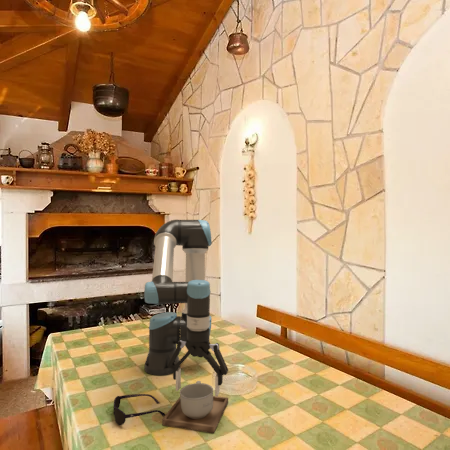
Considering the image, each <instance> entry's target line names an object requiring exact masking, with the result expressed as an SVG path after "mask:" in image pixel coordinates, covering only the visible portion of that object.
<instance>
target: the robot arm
mask: <svg viewBox="0 0 450 450" xmlns="http://www.w3.org/2000/svg"><path fill="white" fill-rule="evenodd" d="M212 244H213V243H212V233H211V227H210V223H209V221H207V220H204V219H171V220H169V221H167V222H165V223H164V224H162V225H161V226H160V227H159V228H158V230H157V231H156V232H155V235H154V239H153V245H154V246H155V249H154V250H155V251H154V259H153V268H152V276H151V277H152V278H151V281H148V282H145V284H144V295H143V296H144V302H145V303H146V304H152V305H153V304H155V305H159V304H161V305H165V304H166V305H167V304H184V305H185V306H184V309H183V310H182V311H181V315H180V316H178V314H177V313H176V312H174V311H173V312H172V311H165V312H161V313H157V314H155V315H153V316H151V317H150V319H149V322H148V323H149V325H148V330H149V331H148V332H149V333H148V353H147V357H146V359H145V362H144V371H145V373H147V374H148V375H153V376H167V375H171V374H172V376H173V380H175V392H178V391H180V390H181V389H182V388H181V387H182V384H181V383H182V381H181V380H182V373H181V372H182V368H181V365H182V364H183V363H184V362H185V360H186V359H187V358H188V357H189V356H192V357H194V358H195V357H198V358H202V357H203V358H204V360H206V361H207V363H208V365H210V366H211V368H212V370H213V371H214V372H215V373H216V374H215V377H214V378H215V379H214V380H215V381H214V382H215V384H214V386H215V387H214V390H215V391H214V396H218V397H219V394H220V392H221V391H220V386H222V384H223V380H224V379H223V376H225V375H227V374H228V372H229V368H228V365H227V364H226V362H225V359H224V357H223V354H222V353H221V351H220V343H219V342H215V343H210V336H211V331H212V330H211V329H212V319H213V317H212V316H211V315H210V311H211V310H210V308H211V307H210V306H211V284H210V282H209V281H208V280H206V277H205V276H206V253H207V251H209V247H211V246H212ZM176 246H180V247H181V246H182V248H181V249H182V251H183V253H185V281H174V280H173V278H174V255H175V254H174V253H175V248H176ZM184 347H185V348H186V349H187V352H186V353H184V355H183V356H182V357H181V358H179V356H180V355H179V354H180V353H181V351H182V349H183V348H184ZM210 349H211V351H212V352H213V353H214V356H215V358H214V357H213V355H212V353H211V351H210ZM215 359H216V360H215Z"/></svg>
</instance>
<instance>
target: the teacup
mask: <svg viewBox="0 0 450 450" xmlns="http://www.w3.org/2000/svg"><path fill="white" fill-rule="evenodd" d="M179 395H180V396H179V397H180V399H181V409H182V411H183V413H184V414H185V415H186V416H188V417H189V418H192V419H201V418H203V417H205V416H207V414H209V413H210V412H211V410H212V408H213V396H214V388H213V386H212V385H210V384H209V383H203V382H202V381H201V380H197V381H196V382H195V383H194V382H193V383H189V384H186V385H185V386H183V387H182V388H180V389H179Z"/></svg>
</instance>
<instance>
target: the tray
mask: <svg viewBox="0 0 450 450" xmlns="http://www.w3.org/2000/svg"><path fill="white" fill-rule="evenodd" d="M228 404H229V397H227V396H226V397H224V396H219V395H218V396H215V395H213V408H212V410H211V412H210V413H209V414H207V416H205V417H203V418H201V419H192V418H189V417H188V416H186V415H185V414H184V413H183V411H182V409H181V399H180V396H179V398H177V400H176V401H175V403H173V405H172V406H171V408H169V410H168V411H167V413H165V416H163V418H162V422H161V423H162V424H161V425H162V426H164V427H172V428H177V429H178V428H179V429H183V430H184V429H185V430H191V431H196V432H198V431H199V432H202V433H203V432H204V433H209V434H210V433H211V434H215V432H216V430H217V428H218V427H219V424H220V422H221V420H222V417H223V415H224V413H225V411H226V409H227V406H228Z"/></svg>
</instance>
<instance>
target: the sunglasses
mask: <svg viewBox="0 0 450 450" xmlns="http://www.w3.org/2000/svg"><path fill="white" fill-rule="evenodd" d="M136 397H149V398H151V399H152V400H153V401H154V402H155V404H158V405H160V404H161V402H160V401H159V400H158V399H156V398H155V396H153V395H151V394H148V393H134V394H132V393H131V394H126V395H125V394H124V395H117V396H115V398H114V400H113V416H114V422H115V424H117V425H118V426H122V425H124V424H125V423H126V419H129V418H130V419H131V418H135V417H139V416H140V417H141V416H145V415H149V414H150V415H151V414H154V413H159V414H160V415H161V416H162V417H165V415H166V413H165V412H163V411H162V410H159V409H154V410H150V411H143V412H136V413H127V414H126V413H125V412H124V411H122V410H121V408H120V405H121V401H122V400H124V399H130V398H136Z"/></svg>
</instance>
